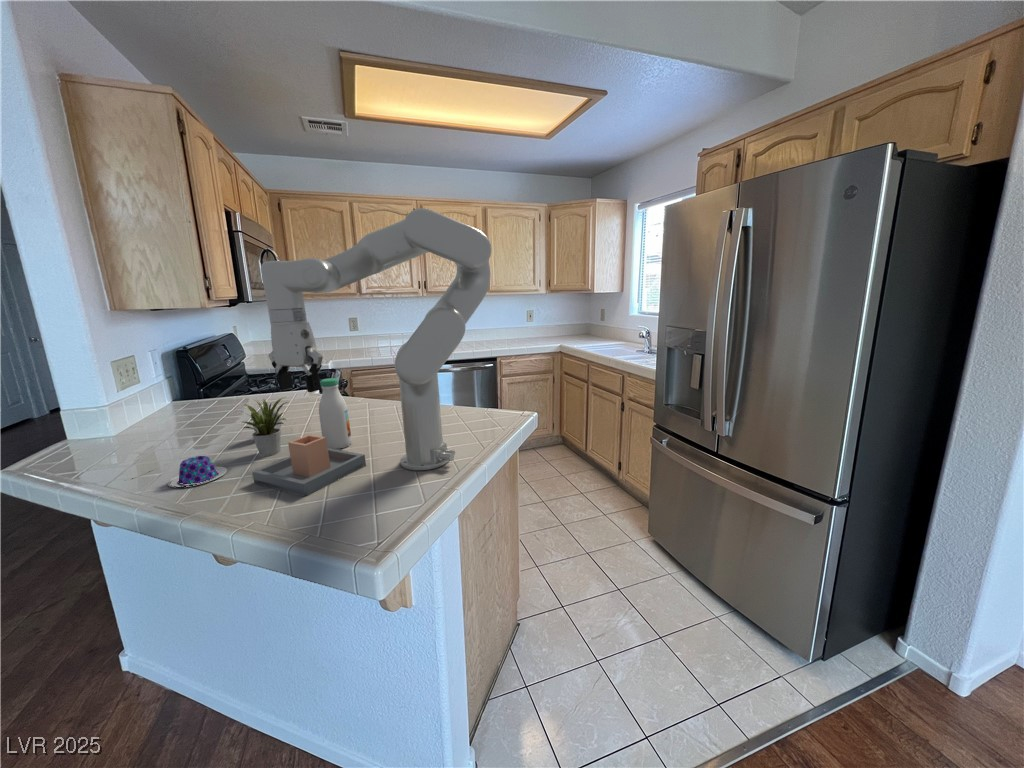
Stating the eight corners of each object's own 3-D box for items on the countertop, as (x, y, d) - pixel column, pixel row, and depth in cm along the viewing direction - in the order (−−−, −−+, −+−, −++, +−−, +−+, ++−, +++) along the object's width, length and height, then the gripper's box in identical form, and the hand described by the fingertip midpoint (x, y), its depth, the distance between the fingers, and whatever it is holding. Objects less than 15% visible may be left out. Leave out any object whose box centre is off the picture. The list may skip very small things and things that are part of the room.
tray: (366, 465, 109) (364, 454, 108) (305, 496, 93) (303, 484, 92) (317, 456, 117) (316, 445, 116) (254, 483, 101) (252, 471, 100)
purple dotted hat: (224, 482, 103) (220, 462, 102) (162, 494, 98) (157, 473, 96) (230, 465, 113) (226, 447, 112) (174, 476, 108) (170, 456, 107)
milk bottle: (345, 450, 120) (336, 381, 116) (319, 451, 120) (308, 382, 116) (356, 440, 128) (347, 376, 123) (331, 441, 128) (321, 377, 124)
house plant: (308, 440, 129) (301, 389, 126) (294, 457, 116) (284, 400, 112) (258, 445, 127) (249, 392, 123) (237, 463, 114) (226, 405, 110)
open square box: (330, 467, 106) (326, 437, 104) (309, 477, 101) (304, 445, 99) (313, 463, 109) (309, 434, 107) (293, 473, 103) (288, 442, 102)
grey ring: (262, 442, 129) (256, 411, 127) (253, 442, 130) (247, 411, 128) (286, 432, 139) (281, 402, 137) (278, 431, 140) (273, 402, 138)
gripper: (328, 315, 96) (338, 388, 100) (278, 316, 104) (290, 384, 107) (299, 317, 89) (311, 396, 93) (248, 319, 97) (262, 391, 101)
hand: (300, 389), depth 100 cm, fingers open, 9 cm apart
